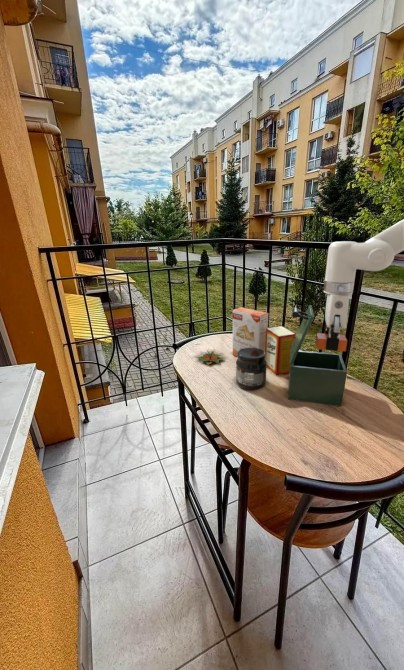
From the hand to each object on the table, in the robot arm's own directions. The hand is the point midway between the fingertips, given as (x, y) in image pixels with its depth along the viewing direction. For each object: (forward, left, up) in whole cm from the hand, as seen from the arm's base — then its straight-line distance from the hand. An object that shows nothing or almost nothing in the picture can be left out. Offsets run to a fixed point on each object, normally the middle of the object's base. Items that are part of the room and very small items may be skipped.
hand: (330, 345), depth 86 cm
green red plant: (+46, +3, -17) cm, 49 cm away
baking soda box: (+20, -7, -17) cm, 27 cm away
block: (0, 0, 0) cm, 0 cm away
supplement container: (+22, +9, -17) cm, 30 cm away
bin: (+3, +1, -17) cm, 17 cm away
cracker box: (+34, -8, -17) cm, 39 cm away
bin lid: (+8, +4, +3) cm, 9 cm away
